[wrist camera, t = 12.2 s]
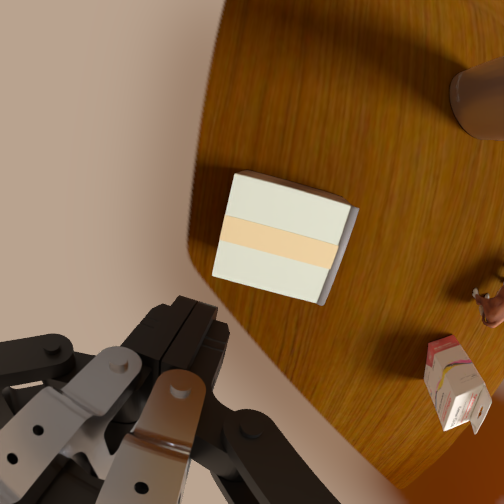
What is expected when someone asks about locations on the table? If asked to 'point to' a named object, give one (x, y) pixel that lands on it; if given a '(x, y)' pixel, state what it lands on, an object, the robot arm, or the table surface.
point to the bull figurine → (491, 307)
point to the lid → (282, 239)
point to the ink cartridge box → (455, 385)
